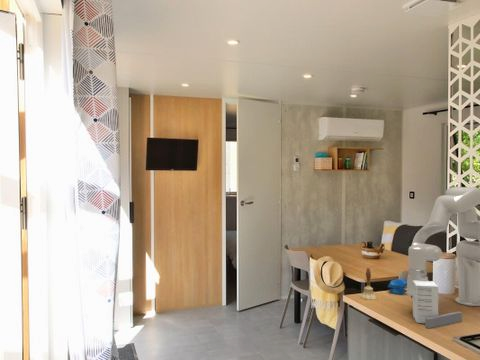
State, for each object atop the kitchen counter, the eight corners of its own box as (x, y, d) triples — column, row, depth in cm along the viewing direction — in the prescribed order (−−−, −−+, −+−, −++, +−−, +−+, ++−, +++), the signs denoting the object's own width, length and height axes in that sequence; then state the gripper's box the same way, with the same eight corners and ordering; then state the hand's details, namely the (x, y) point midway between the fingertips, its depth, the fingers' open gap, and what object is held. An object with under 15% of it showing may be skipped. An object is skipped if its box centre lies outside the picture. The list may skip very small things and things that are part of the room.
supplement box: (438, 324, 174) (438, 286, 174) (416, 323, 176) (416, 285, 176) (433, 317, 184) (433, 280, 183) (412, 315, 186) (412, 279, 185)
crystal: (386, 278, 228) (408, 275, 224) (389, 293, 227) (412, 290, 223) (385, 281, 221) (408, 278, 217) (389, 297, 221) (412, 294, 216)
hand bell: (380, 298, 214) (379, 268, 214) (368, 300, 210) (368, 270, 210) (368, 294, 221) (368, 266, 221) (357, 296, 217) (356, 267, 217)
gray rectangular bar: (458, 320, 179) (458, 311, 179) (461, 321, 178) (461, 312, 178) (425, 327, 172) (425, 318, 172) (428, 328, 170) (428, 319, 170)
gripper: (436, 275, 182) (436, 315, 182) (411, 268, 196) (412, 305, 196) (423, 276, 180) (424, 317, 180) (399, 269, 193) (400, 307, 193)
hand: (417, 311), depth 188 cm, fingers closed
